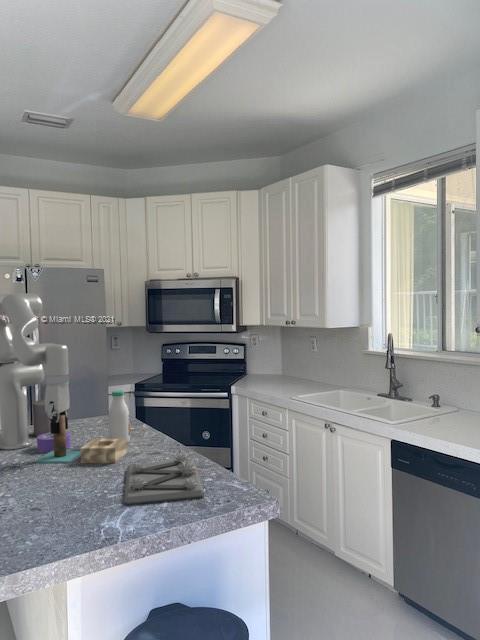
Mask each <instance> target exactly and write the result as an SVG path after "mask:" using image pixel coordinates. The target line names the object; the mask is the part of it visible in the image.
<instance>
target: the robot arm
mask: <svg viewBox="0 0 480 640" xmlns="http://www.w3.org/2000/svg"><path fill="white" fill-rule="evenodd" d="M42 310H43V301H42V299H41V297H39V296H38V294H36V293H25V292H23V293H19V292H18V293H15V292H14V293H0V316H7V318H8V320H9V321H10V324H12V326H13V328H14V332H13V333H12V329H11V326H10V325H9V324H8V323H7V322H6V321H5V320H4V319H3V318H2V317H0V363H2V364H3V363H4V365H1V366H0V425H1V426H0V430H1V431H0V432H1V434H0V450H5V451H6V450H7V451H8V450H18V449H19V450H20V449H22V448H23V449H24V448H27V447H30V446H32V445H33V444H34V440H33V438H29V436H30V435H29V413H28V398H27V396H26V394H25V392H23V390H22V389H21V388H26V387H31V386H36V385H40V384H41V383H42V382H43V381H44V378H45V384H46V386H45V394H44V395H45V396H44V397H45V398H44V400H45V413H46V414H47V416H48V417H49V419H50V426H51V434H59V433H60V422H59V415H65V429H66V430H68V429H69V426H68V425H69V421H68V420H69V419H68V417H69V414H68V413H69V408H70V406H71V405H70V403H71V399H70V387H69V384H70V372H69V371H70V369H69V348H68V345H66V344H57V343H53V342H49V343H48V342H47V343H46V342H45V343H35V341H34V340H33V339H31V338H30V337H28V336H29V335H30V334H32V333H34V331H36V330H37V328H38V326H39V319H38V318H37V316H36V315H39V314H40V313H41V312H42ZM26 336H27V337H26ZM5 363H7V364H5ZM44 366H45V369H44ZM54 411H55V412H56V413H53V412H54ZM53 415H56V417H55V416H53Z"/></svg>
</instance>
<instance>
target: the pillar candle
mask: <svg viewBox="0 0 480 640" xmlns="http://www.w3.org/2000/svg"><path fill="white" fill-rule="evenodd" d="M53 413H56V412H55V411H54V412H53ZM32 414H33V415H32V418H33V419H32V420H33V436H34V437H36V438H37V437H38V436H39V435H41V434H45V433H50V432H51V426H50V419H49V417H48V416H47V414H46V413H45V399H41V400H37V401H33V402H32ZM53 416H55V415H53Z"/></svg>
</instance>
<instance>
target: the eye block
mask: <svg viewBox="0 0 480 640" xmlns="http://www.w3.org/2000/svg"><path fill="white" fill-rule="evenodd" d="M127 444H128V443H126V439H109V438H93V439H91V440H90V441H88V442H87V443H86V444H85V445H83V446H81V448H80V451H81V455H80V464H116V463H118V461H119V460H120V459H122V458H123V457H124V456H125V455H126V454H127V453H128V446H127Z"/></svg>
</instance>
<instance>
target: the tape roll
mask: <svg viewBox="0 0 480 640" xmlns="http://www.w3.org/2000/svg"><path fill="white" fill-rule="evenodd" d="M71 442H72V441H71V432H69V431H66V450H68V449H70V447H72V445H71V444H72V443H71ZM36 443H37V444H36V445H37V451H38V452H40V453H49V452H51V451H54V434H51V432H50V433H45V434H41V435H39V436H38V437H36Z"/></svg>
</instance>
